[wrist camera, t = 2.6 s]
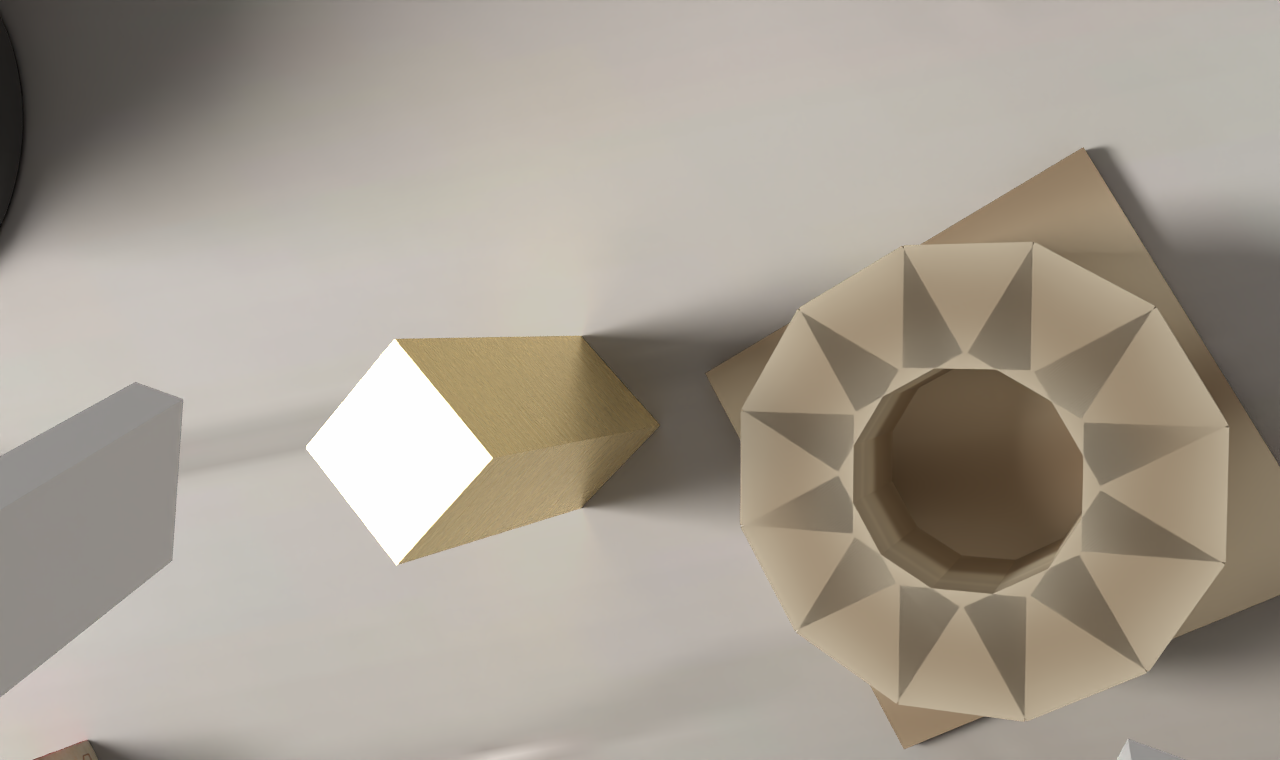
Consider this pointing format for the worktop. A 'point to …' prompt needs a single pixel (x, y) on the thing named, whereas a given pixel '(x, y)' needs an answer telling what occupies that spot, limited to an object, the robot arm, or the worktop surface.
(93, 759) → the stack of blocks
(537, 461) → the square bit
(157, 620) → the worktop surface
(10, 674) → the robot arm
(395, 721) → the worktop surface
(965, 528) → the socket block
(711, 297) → the worktop surface
